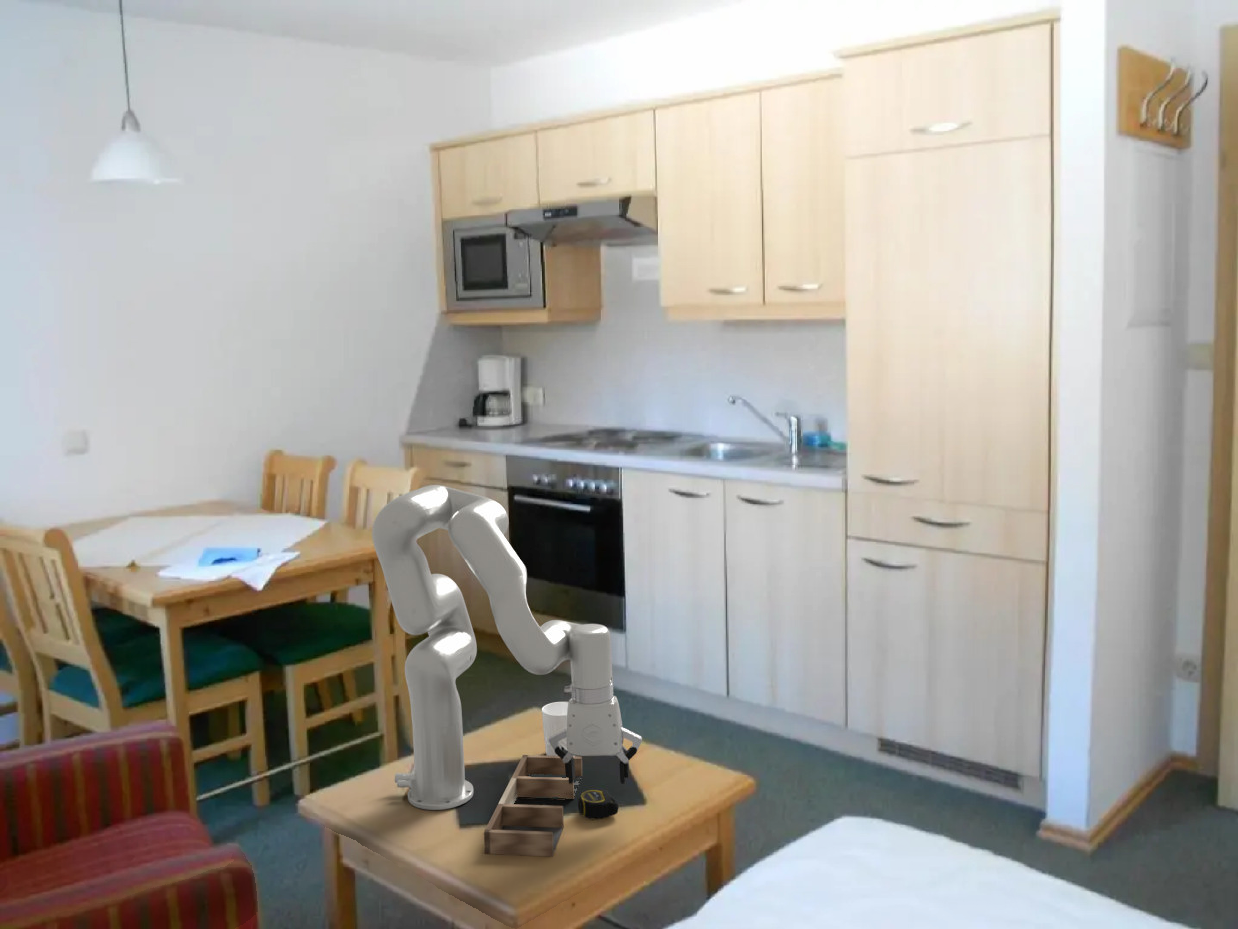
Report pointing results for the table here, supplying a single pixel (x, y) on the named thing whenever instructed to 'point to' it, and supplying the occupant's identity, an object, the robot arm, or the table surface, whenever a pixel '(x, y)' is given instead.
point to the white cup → (554, 724)
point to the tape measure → (597, 804)
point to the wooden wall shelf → (531, 809)
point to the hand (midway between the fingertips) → (597, 780)
